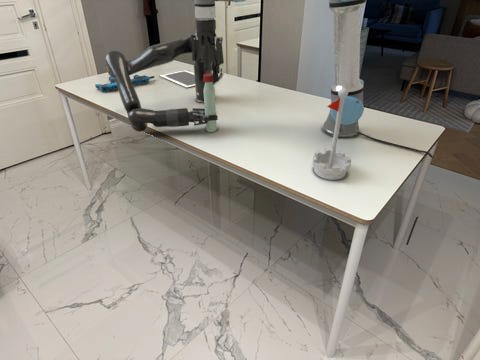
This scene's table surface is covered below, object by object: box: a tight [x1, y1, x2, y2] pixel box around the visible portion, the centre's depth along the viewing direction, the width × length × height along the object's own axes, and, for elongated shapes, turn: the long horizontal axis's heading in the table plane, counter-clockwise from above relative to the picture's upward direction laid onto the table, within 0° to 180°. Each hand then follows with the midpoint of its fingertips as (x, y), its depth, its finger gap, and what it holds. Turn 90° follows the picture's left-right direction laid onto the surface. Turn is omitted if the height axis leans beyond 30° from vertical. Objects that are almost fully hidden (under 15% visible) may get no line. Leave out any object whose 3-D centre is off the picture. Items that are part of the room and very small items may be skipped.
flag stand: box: [312, 88, 352, 181], centre depth 113 cm, size 13×13×30 cm
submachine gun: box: [94, 74, 155, 92], centre depth 206 cm, size 34×4×25 cm
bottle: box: [203, 82, 218, 133], centre depth 145 cm, size 5×5×24 cm
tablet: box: [159, 69, 195, 89], centre depth 215 cm, size 32×20×1 cm, turn 41°
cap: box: [203, 73, 213, 82], centre depth 138 cm, size 4×4×2 cm
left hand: (216, 115), depth 148 cm, fingers closed on bottle, 4 cm apart
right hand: (208, 80), depth 139 cm, fingers open, 6 cm apart
